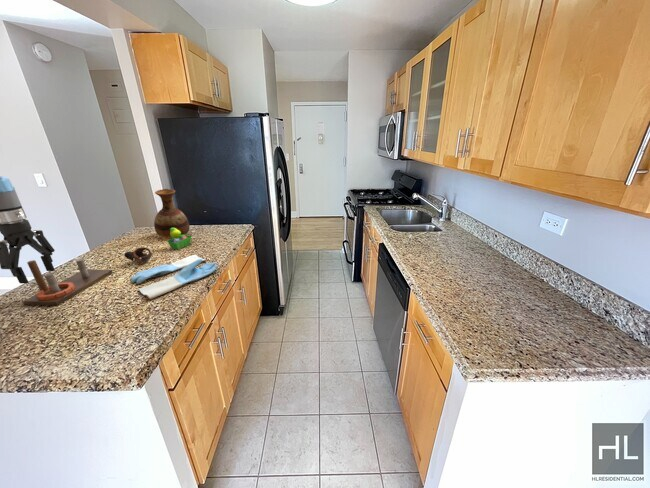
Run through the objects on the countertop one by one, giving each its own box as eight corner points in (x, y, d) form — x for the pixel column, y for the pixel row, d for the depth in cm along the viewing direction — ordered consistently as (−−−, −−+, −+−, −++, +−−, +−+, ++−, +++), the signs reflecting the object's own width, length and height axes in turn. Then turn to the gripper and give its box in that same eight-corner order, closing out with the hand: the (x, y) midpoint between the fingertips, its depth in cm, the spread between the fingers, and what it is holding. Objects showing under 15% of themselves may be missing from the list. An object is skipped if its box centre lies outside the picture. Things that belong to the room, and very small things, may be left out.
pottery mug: (153, 256, 140) (153, 245, 135) (151, 270, 134) (151, 259, 129) (126, 254, 134) (125, 244, 129) (122, 269, 129) (121, 258, 123)
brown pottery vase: (156, 242, 158) (144, 193, 147) (157, 232, 174) (146, 188, 163) (192, 236, 167) (182, 190, 156) (189, 228, 183) (180, 185, 172)
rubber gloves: (124, 279, 116) (120, 266, 114) (195, 255, 140) (193, 244, 138) (150, 300, 101) (145, 286, 98) (224, 269, 125) (222, 257, 122)
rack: (24, 304, 98) (13, 282, 95) (86, 272, 122) (78, 253, 119) (57, 305, 98) (47, 283, 94) (112, 272, 122) (106, 254, 118)
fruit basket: (177, 250, 146) (173, 231, 142) (166, 248, 149) (161, 230, 145) (193, 243, 156) (190, 226, 152) (183, 241, 159) (179, 224, 155)
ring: (27, 299, 99) (11, 267, 94) (56, 284, 109) (43, 255, 104) (55, 300, 98) (41, 268, 93) (81, 285, 108) (70, 256, 103)
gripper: (-17, 231, 82) (15, 291, 91) (53, 213, 103) (73, 264, 111) (-39, 231, 83) (-5, 291, 91) (35, 213, 103) (56, 264, 111)
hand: (38, 276), depth 101 cm, fingers open, 9 cm apart
